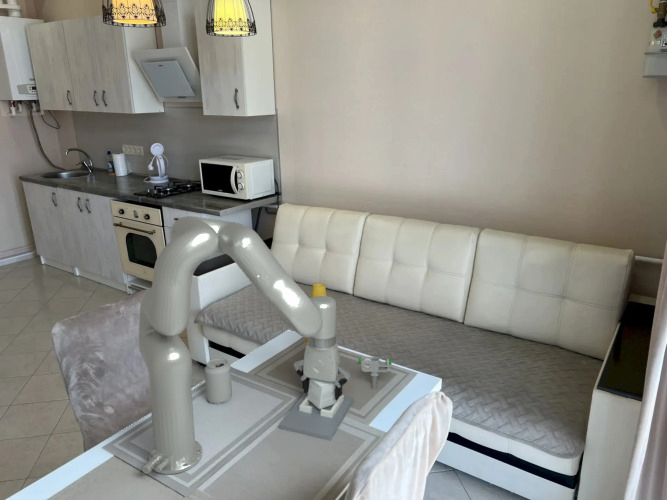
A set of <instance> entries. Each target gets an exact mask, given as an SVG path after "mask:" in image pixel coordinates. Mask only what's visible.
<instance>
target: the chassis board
mask: <svg viewBox="0 0 667 500" xmlns="http://www.w3.org/2000/svg"><path fill="white" fill-rule="evenodd" d="M308 391H309V390H308ZM354 402H355V398H354V397H350V396H346V395H344V394H342V395H341V396H340V397H339V398H338V400H336V403H335V404H333V405H330V406H327V407H325V408H322V409H318V408H317V407H316V406H315V405H314V404H313V403H312V402H311V401H309V400H308V392H307V393H304V392H303V394H302V395H301V397H300V398H299V399H298V400H297V402H296V403H295V404H294V405H293V406H292V408H290V410H289V411H288V413H287V414H286V415H285V417H284V418H283V419H282V420H281V422H280V423H279V424H278V429H280V430H285V431H289V432H293V433H298V434H301V435H305V436H310V437H315V438H318V439H322V440H327V441H330V442H331V441H332V439H333V438H334V436H335V434H336V433H337V431H338V429H339V427H340V426H341V424H342V422H343V420H344V419H345V418H346V416H347V414H348V412H349V410H350V408H351V407H352V406H353V403H354Z"/></svg>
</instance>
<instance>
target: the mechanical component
mask: <svg viewBox="0 0 667 500" xmlns="http://www.w3.org/2000/svg"><path fill="white" fill-rule="evenodd" d="M357 361H358V365H360V367H361V370H362V372H363V373H364V372H365V373H366V372H367V373H370V376H371V388H372V389H373V390H376V389H377V383H378V382H377V381H378V380H377V379H378V376H379V375H380V374H379V373H387V372H389V370H390V365H391V366H392V359H389V358H386V360H385V361H381V360H380V357H378V356H360V358H358V360H357Z"/></svg>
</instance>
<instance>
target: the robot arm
mask: <svg viewBox="0 0 667 500" xmlns="http://www.w3.org/2000/svg"><path fill="white" fill-rule="evenodd" d="M170 240H171V241H170V242H169V243H168V244H167V245H165V247H164V248H163V249H162V250H161V251H160V253H159V254H158V256H157V258H156V260H155V264H154V267H153V275H152V282H151V283H152V284H151V287H150V288H149V289H148V290H147V291H146V292H145V293H144V295H142V298H141V300H140V305H139V327H138V328H139V329H138V348H139V351H140V355H141V357H142V359H143V361H144V363H145V365H146V368H147V371H148V377H149V385H148V386H149V391H148V392H149V403H150V410H151V412H150V413H151V420H152V422H151V423H152V432H153V443H154V449H153V450H152V451H151V452H150V454H149V457H148V462H146V463H145V464H144V465H143V466H142V467H141V470H142V472H143V473H144V474H146V475H147V474H149V473H150V472H151V471H152V470H153V471H154V472H156V473H159V474H162V475H174V474H175V475H176V474H180V473H183V472H186V471H187V470H190V469H192V468H193V467H194V466H196V465H197V464H198V463H199V462H200V460H201V459H202V457H203V447H202V445H201V443H199V442H198V440H196V435H195V434H196V433H195V419H194V404H193V393H192V391H193V390H192V373H193V360H192V355H191V353H190V351H189V348H188V347H187V346H186V344H185V342H184V341H183V340H182V339H181V338H180V336H179V335H180V334H181V333H184V332H185V330H186V328H187V327H188V325H189V323H190V318H191V302H192V301H191V300H192V295H191V294H192V286H193V285H192V283H193V276H194V273H195V271H196V270H197V268H198V267H199V265H200V264H202V263H203V262H204V261H206V260H207V259H209V258H210V257H212V256H213V254H214V253H216V254H218V253H219V254H226V255H227V256H229V257H230V258H231V259H232V260H233V261H234V263H235V264H236V265H237V266H238V268H239V269H240V270H241V271H242V272H243V274H244V275H245V277H247V278H248V280H249V281H250V283H251V284H252V285H253V287H255V289H256V290H257V292H259V293H260V294H261V295H262V296H263V297H264V298H266V299H267V300H268V301H269V302H270V303H272V304H273V305H275V307H276V308H277V309H279V310H278V315H279V317H280V320H281V321H282V322H283V323H284V324H285V325H286V326H287V327H289V328H290V329H292V330H293V331H295V333H297V334H299V336H301V337H304V339H306V338H307V339H308V342H307V344H306V343H305V347H304V354H303V359H301V360H298V361H295V362H294V363H293V367H294V369H295V371H296V374H297V375H298V376H299V377H300V380H301V382H302V383H301V386H302V389H303V394H304V393H307V392H308V390H309V381H310V378H312V379H317V380H322V381H328V382H334V383H335V384H336V387H335V400H338V398H339V397H340V396H341V395H343V386H344V385H345V384H346V383H347V382H348V381H349V379H350V378H351V376H352V374H353V373H352V372H351V371H350V370H349V369H347V368H345V367H344V366H342V364H341V354H340V349H339V344H338V343H337V303H336V299H334V298H333V297H332V296H328V295H326V296H316V297H314V298H310V297H309V296H308V295H307V294H306V293H305V291H304V290H303V289H302V288H301V287H300V285H298V284H297V282H296V281H295V280H294V279H293V277H292V276H291V275H290V274H289V273H288V272H287V271H286V269H284V267H283V266H282V265H281V263H280V262H279V261H278V260H277V257H275V256H274V254H273V253H272V250H270V248H269V247H268V246H267V244H266V243H265V242H264V241H263V239H262V238H261V237H260V235H259V234H258V233H257V232H256V231H255V230H254V229H252V228H251V227H248V226H246V225H244V224H242V223H240V222H235V221H228V220H221V219H211V218H206V217H201V216H200V217H199V216H193V215H190V216H189V215H188V216H183V217H180V218H179V219H177V220H176V221H174V223H173V224H172V226H171V229H170ZM341 374H343V376H344V377H343V378H342V376H341Z"/></svg>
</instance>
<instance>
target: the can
mask: <svg viewBox="0 0 667 500" xmlns="http://www.w3.org/2000/svg"><path fill="white" fill-rule="evenodd" d="M204 377H205V378H204V380H205V396H206V400H207V401H208V402H210V403H211V402H212V403H211V404H213V403H216V404H215V405H218V404H217V403H221V404H224V403H223V402H225V403H226V402H228V401H229V400H230V399H231V398H232V395H233V393H232V392H233V391H232V389H233V388H232V369H231V364H230V363H229V361H228V359H225V358H221V357H220V358H213V359H210V360H208V361H207V363H206V366H205V367H204ZM227 400H228V401H227Z"/></svg>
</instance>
